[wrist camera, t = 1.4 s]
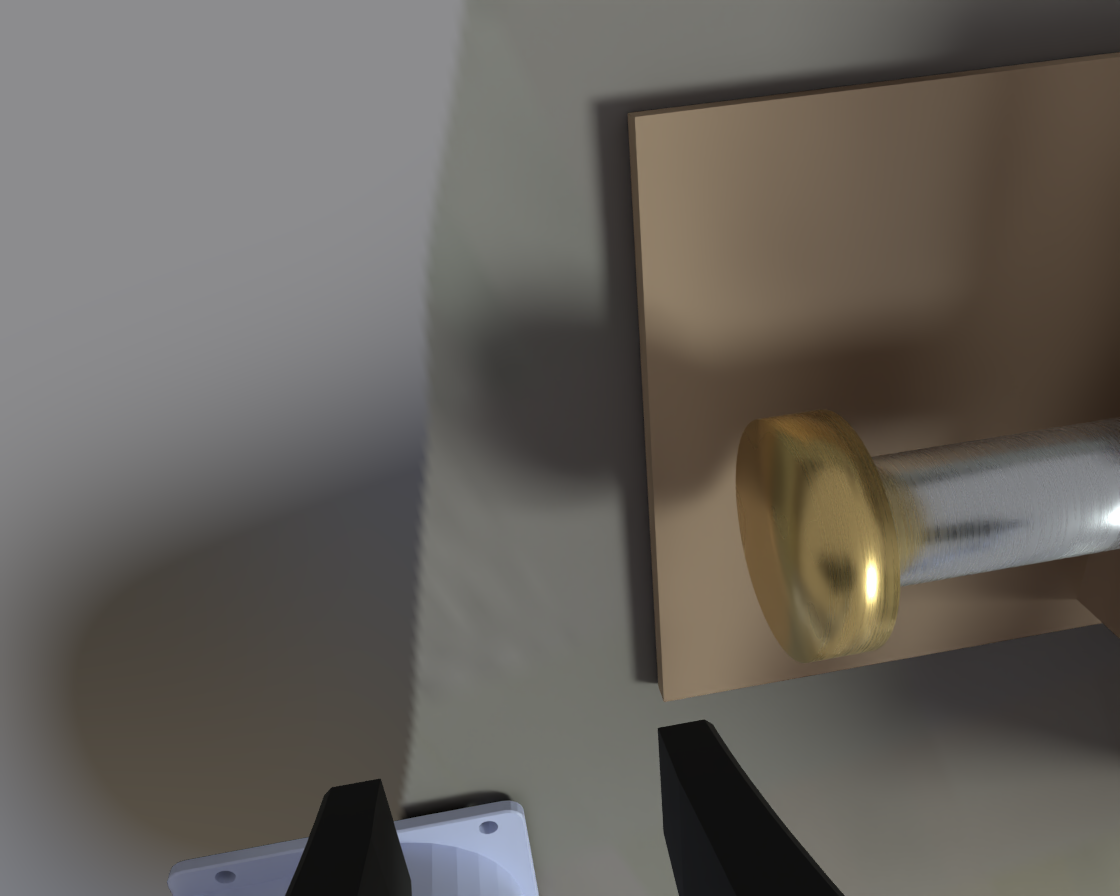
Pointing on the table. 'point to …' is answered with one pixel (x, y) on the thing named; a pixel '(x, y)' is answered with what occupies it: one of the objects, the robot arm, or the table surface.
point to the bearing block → (871, 324)
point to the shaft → (907, 518)
